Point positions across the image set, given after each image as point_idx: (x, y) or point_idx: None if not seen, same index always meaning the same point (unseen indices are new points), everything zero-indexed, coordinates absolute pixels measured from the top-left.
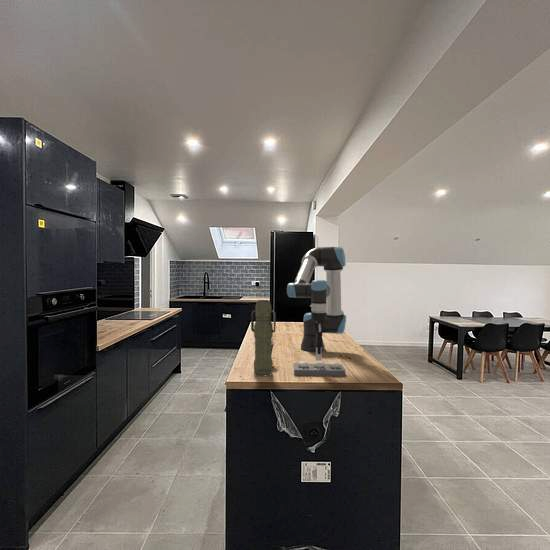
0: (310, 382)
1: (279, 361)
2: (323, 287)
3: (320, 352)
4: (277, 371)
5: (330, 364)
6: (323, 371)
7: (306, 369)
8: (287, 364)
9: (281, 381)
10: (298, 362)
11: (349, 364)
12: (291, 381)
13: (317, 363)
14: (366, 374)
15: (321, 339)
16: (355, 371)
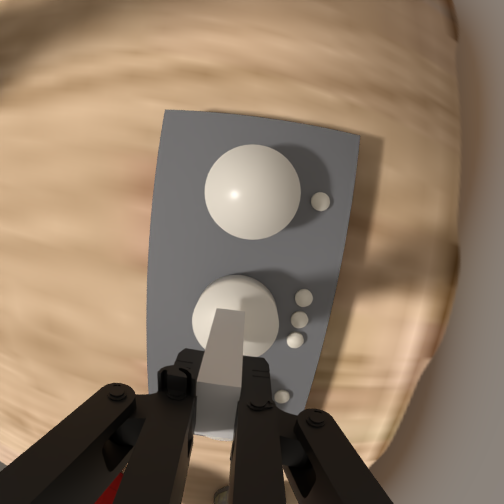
0: (419, 364)
1: (53, 421)
2: None
3: (269, 370)
4: (218, 468)
5: (276, 232)
6: (332, 293)
7: (296, 393)
8: None
9: (368, 457)
10: (223, 439)
11: (76, 60)
12: (381, 431)
13: (260, 339)
14: (311, 10)
15: (381, 501)
16: (238, 44)
